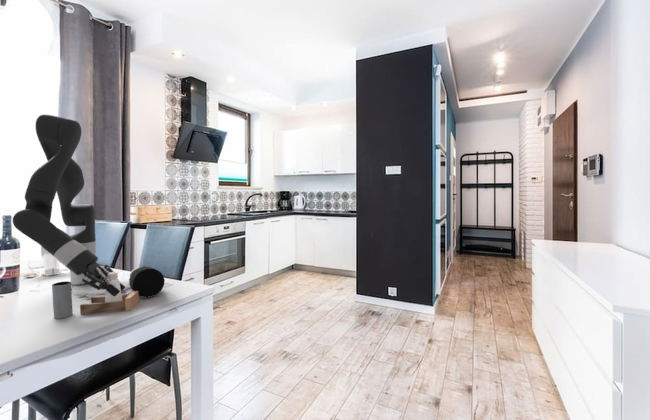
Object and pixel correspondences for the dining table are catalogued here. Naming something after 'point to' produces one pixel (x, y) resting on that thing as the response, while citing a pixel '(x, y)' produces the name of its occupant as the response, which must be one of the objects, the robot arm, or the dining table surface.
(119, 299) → the pepper shaker
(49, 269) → the beer glass
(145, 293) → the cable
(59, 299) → the planter
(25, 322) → the dining table surface
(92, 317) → the dining table surface
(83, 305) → the guide channel
